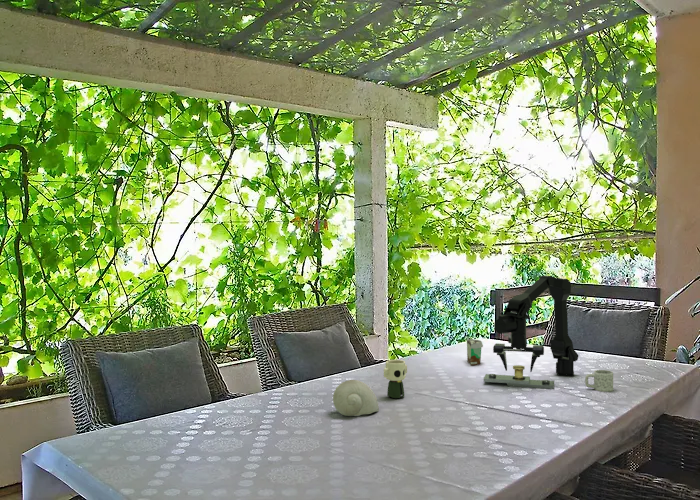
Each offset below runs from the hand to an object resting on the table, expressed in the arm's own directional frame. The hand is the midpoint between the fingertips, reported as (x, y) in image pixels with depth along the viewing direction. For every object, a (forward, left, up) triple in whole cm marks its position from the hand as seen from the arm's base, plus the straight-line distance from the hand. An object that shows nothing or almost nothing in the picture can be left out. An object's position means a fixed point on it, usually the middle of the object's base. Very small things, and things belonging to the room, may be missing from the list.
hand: (518, 371), depth 255 cm
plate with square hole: (0, 0, -5) cm, 5 cm away
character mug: (+41, +31, -5) cm, 52 cm away
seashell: (+49, +52, -6) cm, 72 cm away
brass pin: (0, 0, -5) cm, 5 cm away
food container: (+21, -34, -5) cm, 40 cm away
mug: (-29, 0, -5) cm, 30 cm away
